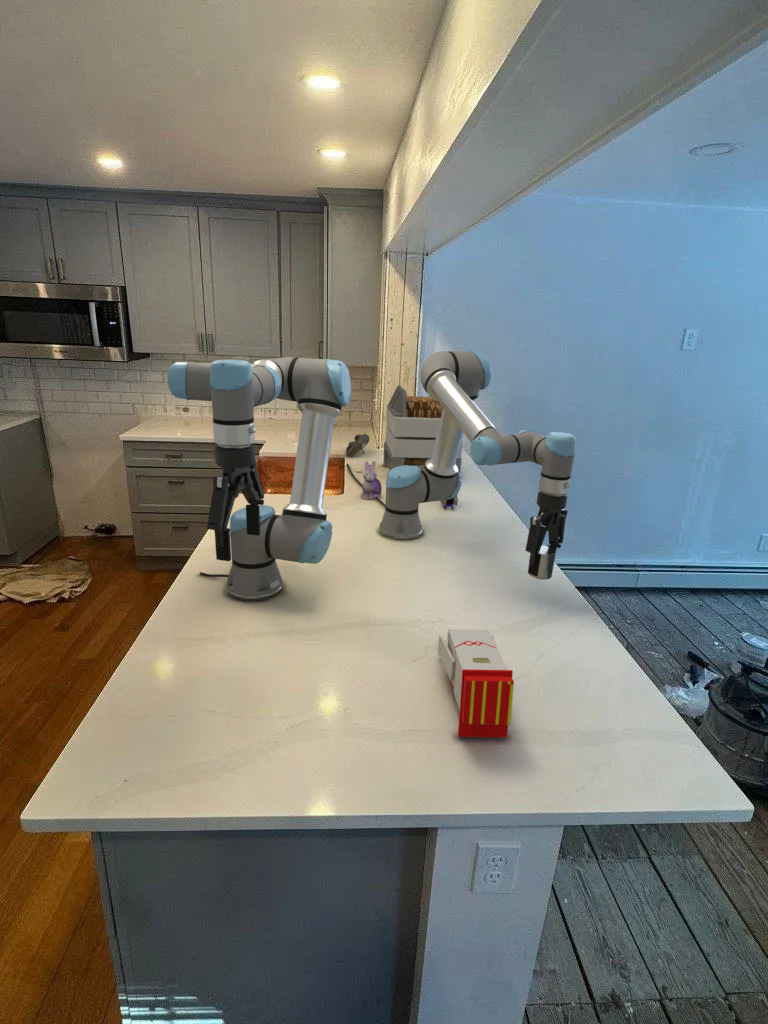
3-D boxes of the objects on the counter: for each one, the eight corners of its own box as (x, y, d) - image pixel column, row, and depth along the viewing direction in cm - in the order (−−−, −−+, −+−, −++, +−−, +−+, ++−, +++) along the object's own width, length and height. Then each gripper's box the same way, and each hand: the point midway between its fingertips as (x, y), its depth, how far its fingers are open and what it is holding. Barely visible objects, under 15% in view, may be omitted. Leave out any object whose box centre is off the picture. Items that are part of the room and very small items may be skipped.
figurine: (366, 501, 232) (367, 465, 227) (356, 493, 240) (357, 459, 235) (386, 498, 236) (388, 463, 231) (375, 491, 244) (377, 457, 239)
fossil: (345, 440, 316) (366, 424, 311) (356, 453, 319) (377, 438, 314) (339, 453, 297) (361, 437, 292) (350, 467, 300) (373, 452, 295)
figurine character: (457, 514, 225) (453, 498, 239) (459, 497, 222) (455, 481, 236) (441, 513, 225) (437, 497, 239) (442, 496, 222) (439, 481, 235)
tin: (552, 581, 154) (556, 556, 151) (528, 577, 155) (532, 552, 152) (551, 571, 159) (555, 547, 157) (528, 568, 161) (531, 543, 158)
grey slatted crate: (382, 463, 289) (386, 382, 275) (445, 464, 293) (451, 384, 279) (390, 482, 257) (394, 392, 243) (460, 483, 261) (468, 394, 247)
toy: (488, 613, 130) (523, 677, 101) (484, 667, 133) (517, 744, 104) (435, 612, 130) (455, 676, 101) (432, 666, 133) (451, 743, 103)
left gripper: (221, 461, 96) (228, 574, 103) (278, 432, 119) (280, 527, 126) (181, 457, 97) (190, 569, 104) (244, 429, 120) (248, 523, 127)
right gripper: (542, 502, 140) (530, 585, 148) (586, 489, 152) (572, 567, 160) (518, 494, 146) (507, 574, 154) (562, 482, 157) (549, 558, 165)
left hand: (239, 546), depth 115 cm, fingers open, 13 cm apart
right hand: (540, 571), depth 157 cm, fingers closed on tin, 6 cm apart
